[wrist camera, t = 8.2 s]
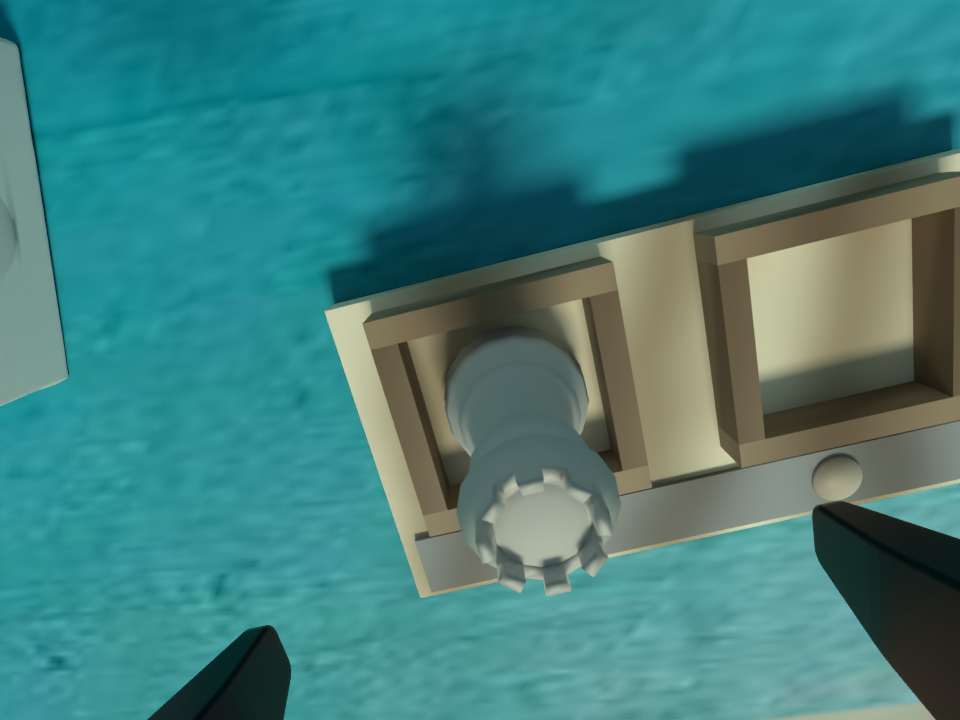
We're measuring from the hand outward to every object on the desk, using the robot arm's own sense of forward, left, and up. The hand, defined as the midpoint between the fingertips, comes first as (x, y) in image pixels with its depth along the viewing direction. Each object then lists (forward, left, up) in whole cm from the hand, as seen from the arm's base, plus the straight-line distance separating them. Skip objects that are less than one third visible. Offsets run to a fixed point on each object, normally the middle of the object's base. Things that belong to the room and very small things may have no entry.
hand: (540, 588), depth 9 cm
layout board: (-5, +1, -10) cm, 12 cm away
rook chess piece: (0, 0, -9) cm, 9 cm away
